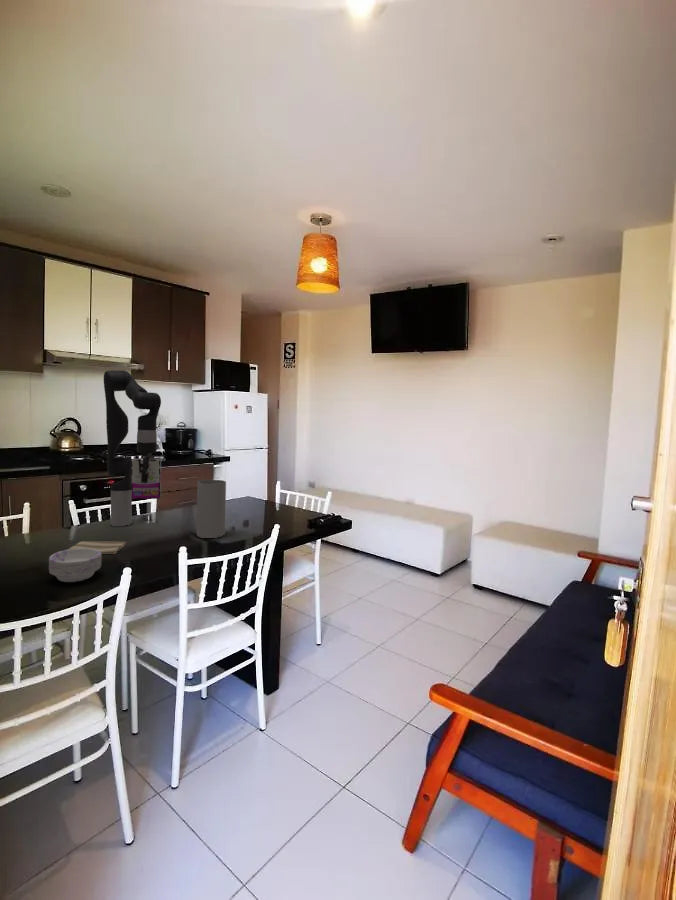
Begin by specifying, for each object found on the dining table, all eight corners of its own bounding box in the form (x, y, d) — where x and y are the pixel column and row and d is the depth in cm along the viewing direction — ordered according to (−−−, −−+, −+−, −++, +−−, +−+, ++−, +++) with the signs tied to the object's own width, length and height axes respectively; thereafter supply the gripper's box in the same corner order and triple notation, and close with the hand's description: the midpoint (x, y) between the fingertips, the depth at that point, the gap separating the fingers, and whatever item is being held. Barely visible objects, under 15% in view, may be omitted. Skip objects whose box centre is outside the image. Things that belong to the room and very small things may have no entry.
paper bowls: (104, 580, 148) (104, 557, 148) (50, 589, 140) (50, 564, 139) (98, 566, 161) (98, 545, 160) (47, 574, 152) (47, 551, 151)
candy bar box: (161, 496, 191) (161, 458, 189) (160, 499, 186) (160, 459, 185) (132, 497, 188) (133, 458, 186) (131, 499, 183) (131, 459, 181)
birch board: (81, 543, 186) (81, 541, 186) (126, 544, 188) (126, 541, 188) (64, 554, 172) (64, 551, 172) (113, 554, 174) (113, 551, 174)
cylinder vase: (198, 532, 211) (198, 479, 209) (225, 531, 214) (226, 479, 212) (195, 539, 199) (196, 483, 197) (224, 539, 202) (225, 484, 200)
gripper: (142, 439, 191) (142, 478, 193) (131, 442, 177) (131, 484, 179) (160, 440, 192) (160, 479, 194) (151, 442, 178) (151, 484, 180)
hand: (146, 481), depth 186 cm, fingers closed on candy bar box, 5 cm apart
